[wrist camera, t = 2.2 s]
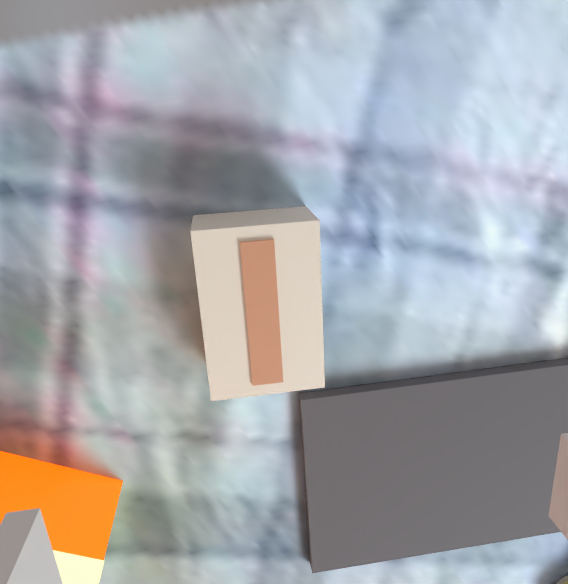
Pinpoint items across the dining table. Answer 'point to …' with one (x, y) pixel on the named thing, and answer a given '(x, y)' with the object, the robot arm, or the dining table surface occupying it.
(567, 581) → the bread roll
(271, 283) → the block
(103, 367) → the dining table surface
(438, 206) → the dining table surface
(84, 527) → the orange juice
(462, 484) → the charcoal mat
